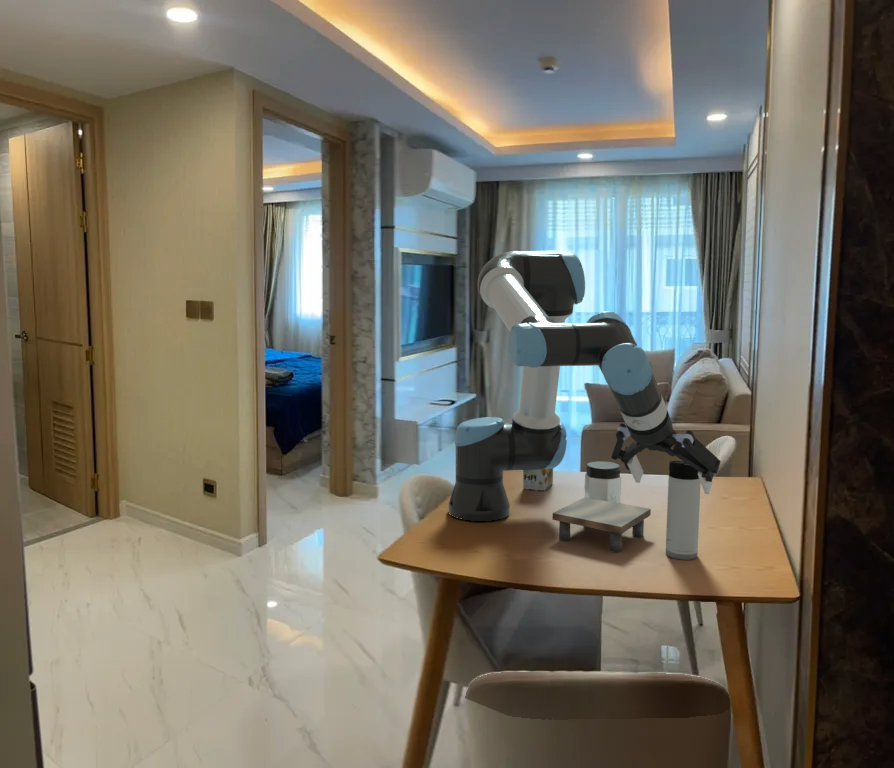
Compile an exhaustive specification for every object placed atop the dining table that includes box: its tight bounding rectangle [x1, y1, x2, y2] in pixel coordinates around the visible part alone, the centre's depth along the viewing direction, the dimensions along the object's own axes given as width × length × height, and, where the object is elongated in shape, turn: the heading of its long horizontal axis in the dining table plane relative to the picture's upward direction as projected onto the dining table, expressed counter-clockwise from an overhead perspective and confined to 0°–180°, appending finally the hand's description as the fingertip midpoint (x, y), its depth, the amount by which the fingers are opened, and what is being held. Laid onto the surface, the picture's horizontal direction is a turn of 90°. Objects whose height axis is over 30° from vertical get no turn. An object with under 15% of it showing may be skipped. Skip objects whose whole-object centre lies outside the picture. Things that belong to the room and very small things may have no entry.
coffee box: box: [522, 468, 554, 491], centre depth 202 cm, size 9×6×16 cm
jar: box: [584, 460, 622, 503], centre depth 178 cm, size 9×8×12 cm
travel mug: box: [665, 460, 701, 561], centre depth 148 cm, size 6×7×20 cm
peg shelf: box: [552, 496, 652, 553], centre depth 160 cm, size 16×16×6 cm
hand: (673, 482), depth 140 cm, fingers open, 13 cm apart
